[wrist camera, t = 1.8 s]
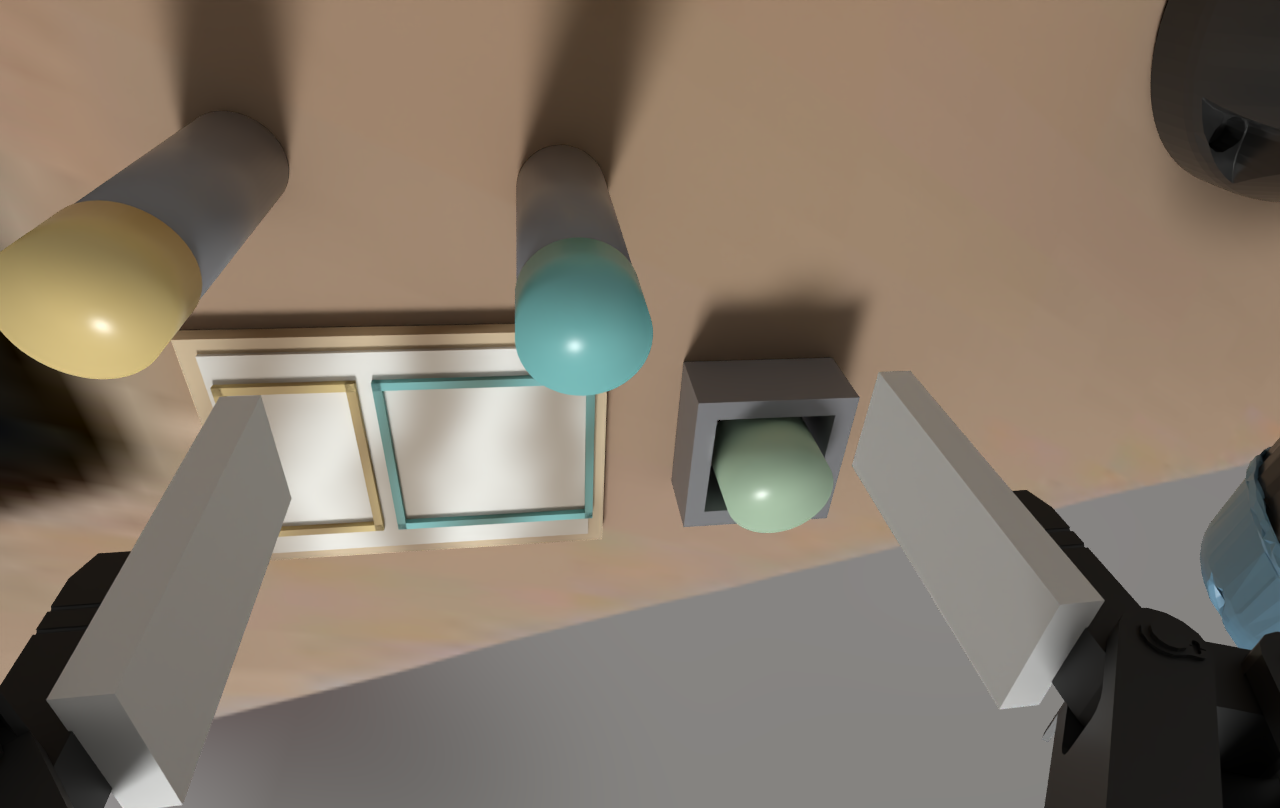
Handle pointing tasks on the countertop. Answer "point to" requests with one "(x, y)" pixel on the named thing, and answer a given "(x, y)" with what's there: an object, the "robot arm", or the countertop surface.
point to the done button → (770, 472)
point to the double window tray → (410, 436)
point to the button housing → (751, 395)
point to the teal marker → (575, 279)
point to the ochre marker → (139, 249)
